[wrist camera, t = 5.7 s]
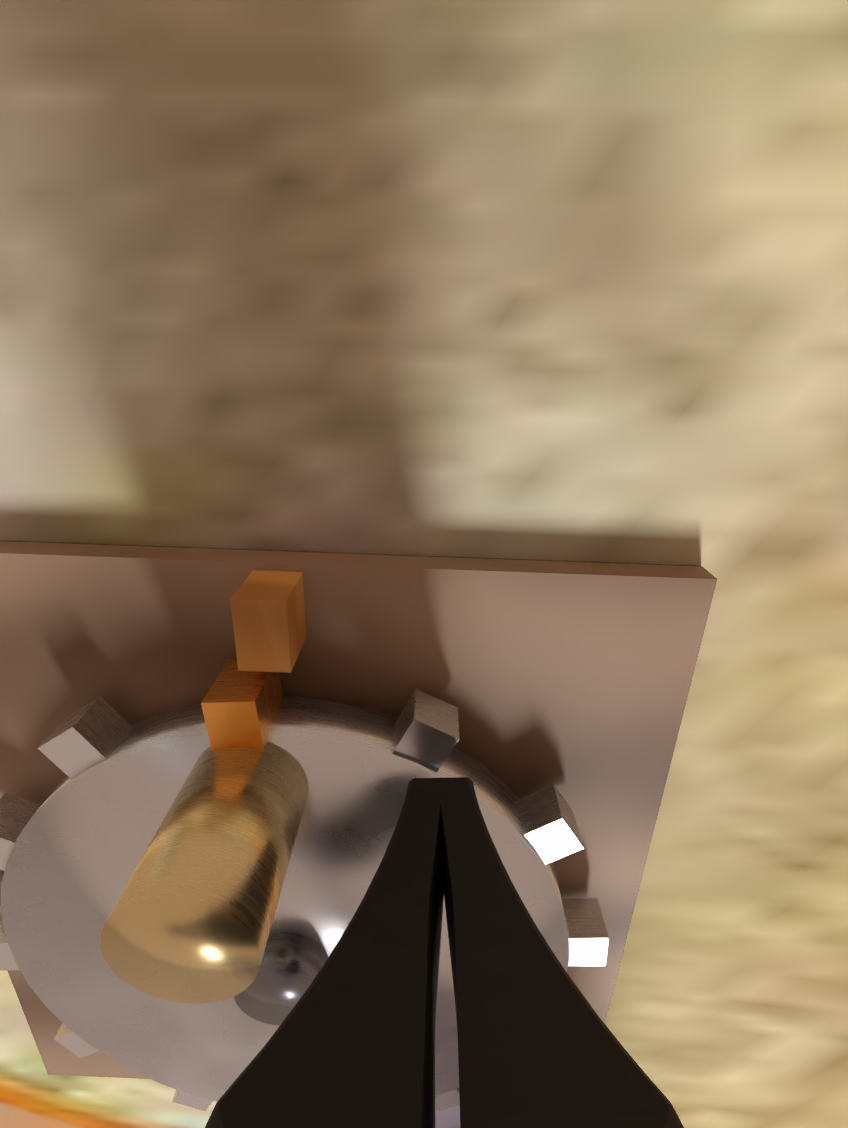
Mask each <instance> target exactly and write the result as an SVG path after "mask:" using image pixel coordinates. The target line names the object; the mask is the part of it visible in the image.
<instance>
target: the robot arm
mask: <svg viewBox="0 0 848 1128" xmlns="http://www.w3.org/2000/svg"><path fill="white" fill-rule="evenodd" d="M444 899H445V909H446V919H447V929H448V938H449V948H450V958H451V968H452V977H453V987H454V997H455V1007H456V1020H457V1034H458V1066H459V1099H460V1105H457V1106H454V1107H451V1108H448V1109H445V1110H442V1111H439V1112H438V1111H436V1110H435V1023H436V1002H437V987H438V973H439V959H440V945H441V930H442V916H443V901H444ZM205 1128H684V1127H683V1125H682V1123H681V1121H680V1119H679V1117H678V1115H677V1114H676V1112H675V1110H674V1108H673V1106H672V1104H671V1103H670V1101H669V1100H668V1099H667V1098H666V1097H665V1096H664V1094H663V1093H662V1092H661V1091H660V1090H659V1089H658V1088H657V1086H656V1085H655V1084H654V1083H653V1082H652V1081H651V1080H650V1078H649V1077H648V1076H647V1075H646V1074H645V1073H644V1072H643V1070H642V1069H641V1068H640V1067H639V1066H638V1064H637V1063H636V1062H635V1061H634V1060H633V1058H632V1057H631V1056H630V1055H629V1054H628V1053H627V1051H626V1050H625V1049H624V1048H623V1046H622V1045H621V1044H620V1043H619V1041H618V1040H617V1039H616V1038H615V1036H614V1035H613V1034H612V1033H611V1031H610V1030H609V1029H608V1028H607V1026H606V1025H605V1024H604V1023H603V1021H602V1020H601V1019H600V1017H599V1016H598V1015H597V1013H596V1012H595V1011H594V1009H593V1008H592V1007H591V1005H590V1004H589V1002H588V1001H587V1000H586V998H585V997H584V996H583V994H582V993H581V991H580V990H579V989H578V987H577V986H576V985H575V983H574V982H573V980H572V979H571V978H570V976H569V975H568V974H567V972H566V971H565V969H564V968H563V966H562V965H561V963H560V962H559V960H558V959H557V957H556V956H555V954H554V953H553V951H552V950H551V948H550V947H549V945H548V944H547V942H546V940H545V939H544V937H543V935H542V934H541V932H540V931H539V929H538V927H537V926H536V924H535V922H534V921H533V919H532V917H531V916H530V914H529V912H528V910H527V909H526V907H525V905H524V903H523V901H522V900H521V898H520V896H519V894H518V892H517V890H516V888H515V887H514V885H513V883H512V881H511V879H510V877H509V875H508V873H507V871H506V869H505V867H504V865H503V863H502V861H501V858H500V856H499V854H498V852H497V850H496V847H495V845H494V843H493V841H492V838H491V836H490V834H489V831H488V829H487V826H486V824H485V821H484V818H483V816H482V813H481V810H480V807H479V804H478V801H477V797H476V793H475V789H474V784H473V781H472V780H471V779H470V778H468V777H452V778H413V779H412V780H411V781H410V782H409V783H408V788H407V793H406V797H405V800H404V804H403V807H402V810H401V813H400V816H399V819H398V822H397V824H396V827H395V830H394V832H393V835H392V837H391V839H390V842H389V844H388V847H387V849H386V851H385V854H384V856H383V858H382V861H381V863H380V865H379V867H378V869H377V871H376V873H375V875H374V877H373V879H372V881H371V883H370V885H369V887H368V889H367V892H366V894H365V896H364V898H363V899H362V901H361V903H360V905H359V907H358V909H357V910H356V912H355V914H354V916H353V918H352V919H351V921H350V923H349V925H348V926H347V928H346V930H345V931H344V933H343V935H342V936H341V938H340V940H339V941H338V943H337V945H336V946H335V948H334V949H333V951H332V952H331V954H330V956H329V957H328V959H327V960H326V962H325V963H324V965H323V966H322V968H321V970H320V971H319V973H318V974H317V976H316V977H315V978H314V980H313V981H312V983H311V984H310V986H309V987H308V989H307V990H306V991H305V993H304V994H303V996H302V997H301V998H300V1000H299V1001H298V1002H297V1004H296V1005H295V1006H294V1008H293V1009H292V1010H291V1012H290V1013H289V1014H288V1016H287V1017H286V1018H285V1020H284V1021H283V1022H282V1024H281V1025H280V1026H279V1028H278V1029H277V1030H276V1032H275V1033H274V1034H273V1036H272V1037H271V1038H270V1039H269V1041H268V1042H267V1043H266V1044H265V1046H264V1047H263V1048H262V1049H261V1051H260V1052H259V1053H258V1054H257V1055H256V1056H255V1058H254V1059H253V1060H252V1061H251V1062H250V1064H249V1065H248V1066H247V1067H246V1068H245V1069H244V1071H243V1072H242V1073H241V1074H240V1075H239V1077H238V1078H237V1079H236V1080H235V1081H234V1082H233V1084H232V1085H231V1086H230V1087H229V1088H228V1089H227V1091H226V1092H225V1093H224V1094H223V1095H222V1096H221V1098H220V1099H219V1100H218V1102H217V1103H216V1105H215V1108H214V1110H213V1112H212V1114H211V1116H210V1118H209V1120H208V1122H207V1124H206V1127H205Z"/></svg>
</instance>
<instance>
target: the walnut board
mask: <svg viewBox="0 0 848 1128" xmlns="http://www.w3.org/2000/svg"><path fill="white" fill-rule="evenodd" d="M716 582H717V579H716V578H715V577H714V576H713V575H712V574H710V573H709V572H708V571H707V570H706V569H705V568H703V567H702V566H677V565H650V564H622V563H595V562H567V561H539V560H512V559H484V558H457V557H429V556H401V555H374V554H346V553H319V552H291V551H263V550H236V549H208V548H181V547H153V546H126V545H98V544H70V543H43V542H15V541H0V798H1V797H2V796H3V795H4V794H5V793H8V794H11V795H13V796H16V797H19V798H22V799H24V800H27V801H30V802H32V803H35V804H38V805H42V804H43V803H44V802H45V800H46V799H47V798H48V797H49V796H50V795H51V793H52V792H53V791H54V790H55V789H56V787H57V786H58V785H59V784H60V783H61V781H62V780H63V779H64V778H65V777H66V776H67V775H66V774H65V773H64V772H63V771H62V770H61V769H60V768H59V767H57V766H56V765H55V764H54V763H53V762H52V761H51V760H50V759H49V758H47V757H46V756H45V755H44V754H43V753H42V752H41V751H40V750H39V749H38V747H39V746H40V745H41V744H42V743H43V742H44V741H45V740H46V739H47V738H48V737H49V736H50V735H51V734H52V733H53V732H54V731H55V730H56V729H57V728H58V726H59V725H60V724H61V723H62V722H63V721H64V720H65V719H66V718H67V717H68V716H70V715H72V714H73V713H75V712H76V711H78V710H80V709H81V708H83V707H85V706H86V705H88V704H90V703H91V702H93V701H94V700H96V699H98V698H99V697H102V698H103V699H104V700H105V701H106V702H107V703H108V704H109V705H110V706H111V707H112V708H113V709H114V710H115V711H116V712H117V713H118V714H119V715H120V716H121V717H122V718H123V719H124V720H125V721H126V722H127V723H128V724H129V725H130V726H131V725H134V724H136V723H138V722H140V721H142V720H144V719H146V718H148V717H151V716H154V715H157V714H160V713H163V712H166V711H169V710H172V709H175V708H178V707H181V706H184V705H189V704H194V703H199V702H202V700H203V699H204V697H205V696H206V694H207V692H208V691H209V689H210V688H211V686H212V685H213V683H214V682H215V680H216V678H217V677H218V675H219V674H220V672H221V671H222V669H223V668H224V666H225V664H226V663H227V661H228V660H229V659H237V664H238V671H261V672H279V675H280V681H281V687H282V693H283V696H301V697H308V698H315V699H322V700H329V701H337V702H342V703H346V704H350V705H354V706H358V707H362V708H366V709H370V710H374V711H378V712H381V713H384V714H387V715H390V716H392V717H395V718H398V717H399V715H400V713H401V712H402V710H403V709H404V707H405V705H406V704H407V702H408V701H409V699H410V697H411V696H412V694H413V692H414V691H415V689H417V690H419V691H422V692H424V693H426V694H428V695H431V696H433V697H435V698H437V699H439V700H442V701H444V702H446V703H448V704H451V705H453V706H455V707H457V708H458V721H459V738H460V739H459V741H458V742H457V744H456V745H455V746H456V747H458V748H459V749H461V750H462V751H464V752H465V753H467V754H468V755H470V756H471V757H473V758H474V759H476V760H477V761H479V762H480V763H481V764H483V765H484V766H485V767H486V768H487V769H488V770H489V771H491V772H492V773H493V774H494V775H495V776H496V777H498V778H499V779H500V780H501V781H502V782H503V783H504V784H506V785H507V787H508V788H509V789H510V790H511V791H512V792H513V794H514V795H515V796H516V797H517V798H520V797H522V796H524V795H527V794H529V793H531V792H533V791H535V790H538V789H540V788H542V787H544V786H547V785H549V784H551V783H553V784H554V785H555V786H556V788H557V789H558V791H559V792H560V794H561V795H562V796H563V798H564V799H565V801H566V802H567V803H568V805H569V806H570V808H571V809H572V811H573V813H574V816H575V820H576V823H577V827H578V830H579V834H580V837H581V841H582V844H583V848H584V849H581V850H579V851H577V852H574V853H572V854H569V855H567V856H565V857H562V858H560V859H557V860H555V861H553V864H554V868H555V873H556V877H557V882H558V886H559V890H560V895H561V898H598V902H599V905H600V909H601V912H602V916H603V919H604V923H605V926H606V930H607V933H608V936H609V942H608V950H607V958H606V966H568V967H567V974H568V975H569V976H570V978H571V979H572V980H573V982H574V983H575V985H576V986H577V987H578V989H579V990H580V991H581V993H582V994H583V996H584V997H585V998H586V1000H587V1001H588V1002H589V1004H590V1005H591V1007H592V1008H593V1009H594V1011H595V1012H596V1013H597V1015H598V1016H599V1017H600V1019H601V1020H602V1021H603V1023H604V1024H605V1021H606V1017H607V1013H608V1009H609V1005H610V1001H611V997H612V994H613V990H614V986H615V982H616V978H617V974H618V970H619V966H620V962H621V958H622V954H623V950H624V946H625V942H626V938H627V934H628V930H629V926H630V922H631V918H632V914H633V910H634V906H635V902H636V898H637V894H638V891H639V887H640V883H641V879H642V875H643V871H644V867H645V863H646V859H647V855H648V851H649V847H650V843H651V839H652V835H653V831H654V827H655V823H656V819H657V815H658V811H659V807H660V803H661V799H662V795H663V792H664V788H665V784H666V780H667V776H668V772H669V768H670V764H671V760H672V756H673V752H674V748H675V744H676V740H677V736H678V732H679V728H680V724H681V720H682V716H683V712H684V708H685V704H686V700H687V696H688V692H689V689H690V685H691V681H692V677H693V673H694V669H695V665H696V661H697V657H698V653H699V649H700V645H701V641H702V637H703V633H704V629H705V625H706V621H707V617H708V613H709V609H710V605H711V601H712V597H713V593H714V590H715V586H716ZM3 876H4V871H3V870H0V911H1V886H2V881H3ZM8 973H9V976H10V978H11V981H12V983H13V986H14V988H15V991H16V993H17V996H18V999H19V1001H20V1004H21V1006H22V1009H23V1011H24V1014H25V1016H26V1019H27V1022H28V1024H29V1027H30V1029H31V1032H32V1034H33V1037H34V1040H35V1042H36V1045H37V1047H38V1050H39V1052H40V1055H41V1057H42V1060H43V1063H44V1065H45V1068H46V1070H47V1073H48V1074H49V1075H73V1076H96V1077H119V1078H142V1079H150V1078H147V1077H145V1076H143V1075H140V1074H138V1073H137V1072H135V1071H133V1070H131V1069H129V1068H127V1067H125V1066H123V1065H121V1064H119V1063H118V1062H116V1061H114V1060H112V1059H111V1058H109V1057H108V1056H106V1055H104V1054H103V1053H101V1052H100V1051H97V1052H95V1053H93V1054H90V1055H88V1056H85V1057H83V1058H79V1057H78V1056H76V1055H75V1054H74V1053H72V1052H71V1051H69V1050H68V1049H66V1048H65V1047H64V1046H62V1045H61V1044H59V1043H58V1042H56V1041H55V1040H54V1037H55V1036H56V1034H57V1032H58V1030H59V1028H60V1026H61V1025H62V1022H61V1021H60V1020H59V1019H58V1018H57V1017H56V1016H55V1015H54V1014H53V1013H52V1012H51V1011H50V1010H49V1009H48V1008H47V1007H46V1006H45V1005H44V1003H43V1002H42V1001H41V1000H40V998H39V997H38V996H37V995H36V993H35V992H34V991H33V990H32V988H31V987H30V986H29V984H28V983H27V981H26V979H25V978H24V976H23V974H22V972H21V971H20V970H8Z"/></svg>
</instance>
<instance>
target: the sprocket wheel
mask: <svg viewBox="0 0 848 1128" xmlns="http://www.w3.org/2000/svg"><path fill="white" fill-rule="evenodd" d="M459 739H460V738H459V721H458V708H457V707H455V706H453V705H451V704H448V703H446V702H444V701H442V700H439V699H437V698H435V697H433V696H431V695H428V694H426V693H424V692H422V691H419V690H417V689H415V691H414V692H413V694H412V696H411V697H410V699H409V701H408V702H407V704H406V705H405V707H404V709H403V710H402V712H401V713H400V715H399V717H398V718H395V717H392V716H390V715H387V714H384V713H381V712H378V711H374V710H370V709H366V708H362V707H358V706H354V705H350V704H346V703H342V702H337V701H329V700H322V699H315V698H308V697H301V696H283V693H282V687H281V681H280V675H279V672H261V671H238V664H237V659H229V660H228V661H227V663H226V664H225V666H224V668H223V669H222V671H221V672H220V674H219V675H218V677H217V678H216V680H215V682H214V683H213V685H212V686H211V688H210V689H209V691H208V692H207V694H206V696H205V697H204V699H203V700H202V702H199V703H194V704H189V705H184V706H181V707H178V708H175V709H172V710H169V711H166V712H163V713H160V714H157V715H154V716H151V717H148V718H146V719H144V720H142V721H140V722H138V723H136V724H134V725H131V726H130V725H129V724H128V723H127V722H126V721H125V720H124V719H123V718H122V717H121V716H120V715H119V714H118V713H117V712H116V711H115V710H114V709H113V708H112V707H111V706H110V705H109V704H108V703H107V702H106V701H105V700H104V699H103V698H102V697H99V698H98V699H96V700H94V701H93V702H91V703H90V704H88V705H86V706H85V707H83V708H81V709H80V710H78V711H76V712H75V713H73V714H72V715H70V716H68V717H67V718H66V719H65V720H64V721H63V722H62V723H61V724H60V725H59V726H58V728H57V729H56V730H55V731H54V732H53V733H52V734H51V735H50V736H49V737H48V738H47V739H46V740H45V741H44V742H43V743H42V744H41V745H40V746H39V747H38V749H39V750H40V751H41V752H42V753H43V754H44V755H45V756H46V757H47V758H49V759H50V760H51V761H52V762H53V763H54V764H55V765H56V766H57V767H59V768H60V769H61V770H62V771H63V772H64V773H65V774H66V775H67V776H66V777H65V778H64V779H63V780H62V781H61V783H60V784H59V785H58V786H57V787H56V789H55V790H54V791H53V792H52V793H51V795H50V796H49V797H48V798H47V799H46V800H45V802H44V803H43V804H42V805H38V804H35V803H32V802H30V801H27V800H24V799H22V798H19V797H16V796H13V795H11V794H8V793H5V794H4V795H3V796H2V797H1V798H0V870H3V871H4V876H3V881H2V886H1V911H0V970H20V971H21V972H22V974H23V976H24V978H25V979H26V981H27V983H28V984H29V986H30V987H31V988H32V990H33V991H34V992H35V993H36V995H37V996H38V997H39V998H40V1000H41V1001H42V1002H43V1003H44V1005H45V1006H46V1007H47V1008H48V1009H49V1010H50V1011H51V1012H52V1013H53V1014H54V1015H55V1016H56V1017H57V1018H58V1019H59V1020H60V1021H61V1022H62V1025H61V1026H60V1028H59V1030H58V1032H57V1034H56V1036H55V1037H54V1040H55V1041H56V1042H58V1043H59V1044H61V1045H62V1046H64V1047H65V1048H66V1049H68V1050H69V1051H71V1052H72V1053H74V1054H75V1055H76V1056H78V1057H79V1058H83V1057H85V1056H88V1055H90V1054H93V1053H95V1052H97V1051H100V1052H101V1053H103V1054H104V1055H106V1056H108V1057H109V1058H111V1059H112V1060H114V1061H116V1062H118V1063H119V1064H121V1065H123V1066H125V1067H127V1068H129V1069H131V1070H133V1071H135V1072H137V1073H138V1074H140V1075H143V1076H145V1077H147V1078H150V1079H152V1080H154V1081H157V1082H159V1083H161V1084H164V1085H166V1086H169V1087H171V1088H174V1089H176V1092H175V1095H174V1098H173V1101H172V1102H176V1103H179V1104H183V1105H186V1106H189V1107H193V1108H196V1109H200V1110H203V1111H206V1110H207V1108H208V1107H209V1105H210V1104H211V1102H212V1101H213V1100H214V1101H218V1100H219V1099H220V1098H221V1096H222V1095H223V1094H224V1093H225V1092H226V1091H227V1089H228V1088H229V1087H230V1086H231V1085H232V1084H233V1082H234V1081H235V1080H236V1079H237V1078H238V1077H239V1075H240V1074H241V1073H242V1072H243V1071H244V1069H245V1068H246V1067H247V1066H248V1065H249V1064H250V1062H251V1061H252V1060H253V1059H254V1058H255V1056H256V1055H257V1054H258V1053H259V1052H260V1051H261V1049H262V1048H263V1047H264V1046H265V1044H266V1043H267V1042H268V1041H269V1039H270V1038H271V1037H272V1036H273V1034H274V1033H275V1032H276V1030H277V1029H278V1028H279V1026H280V1025H281V1024H282V1022H283V1021H284V1020H285V1018H286V1017H287V1016H288V1014H289V1013H290V1012H291V1010H292V1009H293V1008H294V1006H295V1005H296V1004H297V1002H298V1001H299V1000H300V998H301V997H302V996H303V994H304V993H305V991H306V990H307V989H308V987H309V986H310V984H311V983H312V981H313V980H314V978H315V977H316V976H317V974H318V973H319V971H320V970H321V968H322V966H323V965H324V963H325V962H326V960H327V959H328V957H329V956H330V954H331V952H332V951H333V949H334V948H335V946H336V945H337V943H338V941H339V940H340V938H341V936H342V935H343V933H344V931H345V930H346V928H347V926H348V925H349V923H350V921H351V919H352V918H353V916H354V914H355V912H356V910H357V909H358V907H359V905H360V903H361V901H362V899H363V898H364V896H365V894H366V892H367V889H368V887H369V885H370V883H371V881H372V879H373V877H374V875H375V873H376V871H377V869H378V867H379V865H380V863H381V861H382V858H383V856H384V854H385V851H386V849H387V847H388V844H389V842H390V839H391V837H392V835H393V832H394V830H395V827H396V824H397V822H398V819H399V816H400V813H401V810H402V807H403V804H404V800H405V797H406V793H407V788H408V783H409V782H410V781H411V780H412V779H413V778H452V777H468V778H470V779H471V780H472V781H473V784H474V789H475V793H476V797H477V801H478V804H479V807H480V810H481V813H482V816H483V818H484V821H485V824H486V826H487V829H488V831H489V834H490V836H491V838H492V841H493V843H494V845H495V847H496V850H497V852H498V854H499V856H500V858H501V861H502V863H503V865H504V867H505V869H506V871H507V873H508V875H509V877H510V879H511V881H512V883H513V885H514V887H515V888H516V890H517V892H518V894H519V896H520V898H521V900H522V901H523V903H524V905H525V907H526V909H527V910H528V912H529V914H530V916H531V917H532V919H533V921H534V922H535V924H536V926H537V927H538V929H539V931H540V932H541V934H542V935H543V937H544V939H545V940H546V942H547V944H548V945H549V947H550V948H551V950H552V951H553V953H554V954H555V956H556V957H557V959H558V960H559V962H560V963H561V965H562V966H563V968H564V969H565V971H566V972H567V967H568V966H606V958H607V950H608V942H609V936H608V933H607V930H606V926H605V923H604V919H603V916H602V912H601V909H600V905H599V902H598V898H561V895H560V890H559V886H558V882H557V877H556V873H555V868H554V864H553V861H555V860H557V859H560V858H562V857H565V856H567V855H569V854H572V853H574V852H577V851H579V850H581V849H584V848H583V844H582V841H581V837H580V834H579V830H578V827H577V823H576V820H575V816H574V813H573V811H572V809H571V808H570V806H569V805H568V803H567V802H566V801H565V799H564V798H563V796H562V795H561V794H560V792H559V791H558V789H557V788H556V786H555V785H554V784H553V783H551V784H549V785H547V786H544V787H542V788H540V789H538V790H535V791H533V792H531V793H529V794H527V795H524V796H522V797H520V798H517V797H516V796H515V795H514V794H513V792H512V791H511V790H510V789H509V788H508V787H507V785H506V784H504V783H503V782H502V781H501V780H500V779H499V778H498V777H496V776H495V775H494V774H493V773H492V772H491V771H489V770H488V769H487V768H486V767H485V766H484V765H483V764H481V763H480V762H479V761H477V760H476V759H474V758H473V757H471V756H470V755H468V754H467V753H465V752H464V751H462V750H461V749H459V748H458V747H456V746H455V745H456V744H457V742H458V741H459ZM457 1105H460V1099H459V1066H458V1034H457V1020H456V1007H455V997H454V987H453V977H452V968H451V958H450V948H449V938H448V929H447V919H446V909H445V899H444V901H443V916H442V930H441V945H440V959H439V973H438V987H437V1002H436V1023H435V1110H436V1111H438V1112H439V1111H442V1110H445V1109H448V1108H451V1107H454V1106H457Z"/></svg>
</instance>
